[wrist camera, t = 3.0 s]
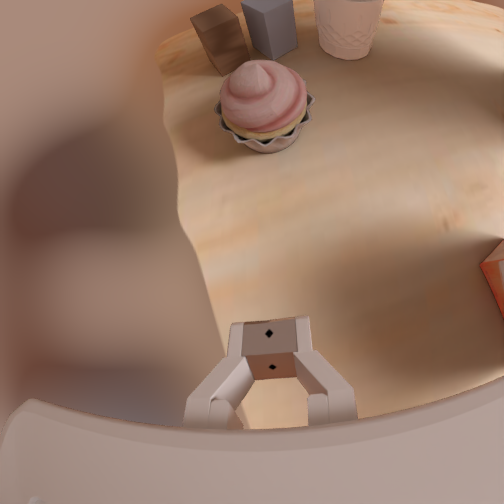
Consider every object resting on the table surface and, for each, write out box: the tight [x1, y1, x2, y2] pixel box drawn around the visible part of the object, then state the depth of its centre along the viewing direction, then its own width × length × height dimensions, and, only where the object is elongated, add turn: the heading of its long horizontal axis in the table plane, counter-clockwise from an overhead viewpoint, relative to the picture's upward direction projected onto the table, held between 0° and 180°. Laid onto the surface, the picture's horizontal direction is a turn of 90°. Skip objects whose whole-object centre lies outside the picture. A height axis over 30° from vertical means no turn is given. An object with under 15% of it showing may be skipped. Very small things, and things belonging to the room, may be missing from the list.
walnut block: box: [190, 4, 251, 77], centre depth 27 cm, size 4×4×8 cm
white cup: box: [313, 0, 384, 60], centre depth 24 cm, size 8×8×10 cm
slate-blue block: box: [241, 0, 298, 61], centre depth 26 cm, size 4×4×8 cm
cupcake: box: [214, 60, 315, 153], centre depth 24 cm, size 9×9×10 cm
